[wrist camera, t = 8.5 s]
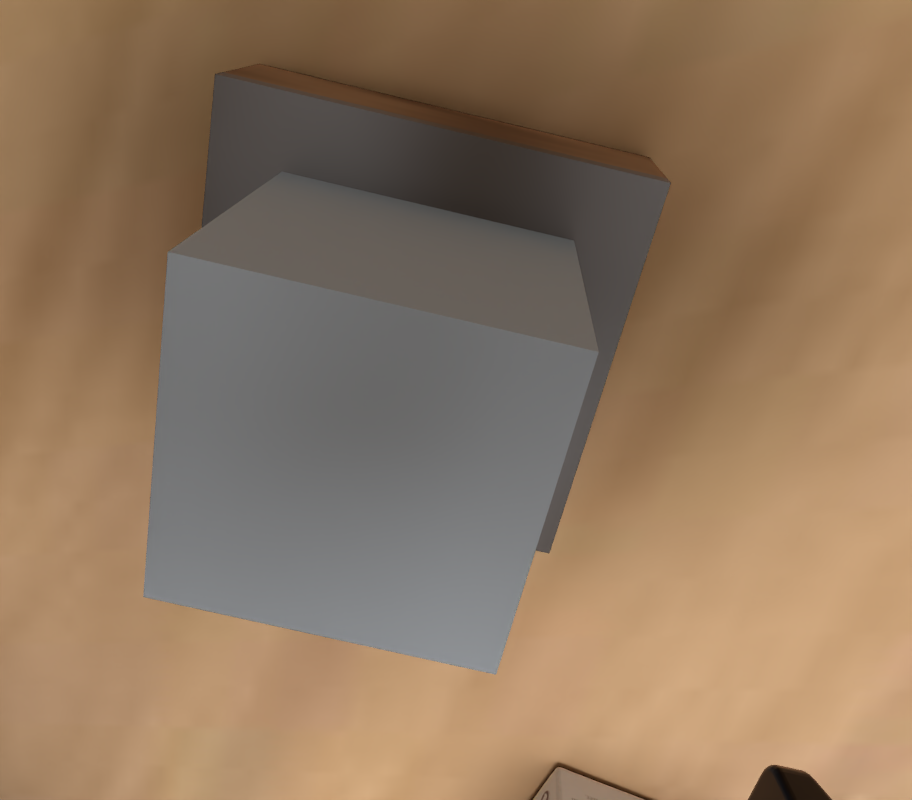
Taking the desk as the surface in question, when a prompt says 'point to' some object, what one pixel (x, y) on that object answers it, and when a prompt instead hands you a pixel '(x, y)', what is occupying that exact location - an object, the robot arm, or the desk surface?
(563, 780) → the skincare box
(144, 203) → the desk surface
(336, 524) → the cube
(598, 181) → the base
